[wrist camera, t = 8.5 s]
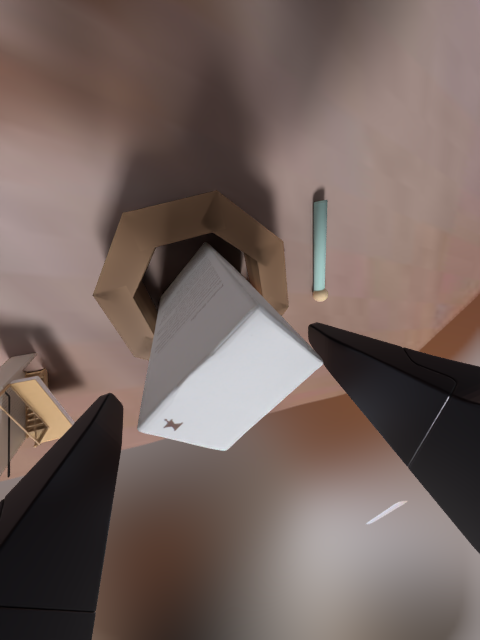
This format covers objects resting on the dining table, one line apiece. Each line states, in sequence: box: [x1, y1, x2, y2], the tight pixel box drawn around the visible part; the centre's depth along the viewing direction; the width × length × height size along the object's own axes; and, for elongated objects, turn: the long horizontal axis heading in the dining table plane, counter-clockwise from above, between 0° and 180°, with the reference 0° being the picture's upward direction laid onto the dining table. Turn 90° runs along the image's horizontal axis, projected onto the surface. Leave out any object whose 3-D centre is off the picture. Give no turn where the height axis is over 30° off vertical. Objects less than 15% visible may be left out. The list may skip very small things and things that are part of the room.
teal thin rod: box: [313, 200, 328, 302], centre depth 18 cm, size 9×1×1 cm, turn 13°
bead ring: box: [93, 190, 289, 361], centre depth 15 cm, size 12×12×4 cm
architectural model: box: [0, 353, 75, 477], centre depth 15 cm, size 3×7×7 cm, turn 3°
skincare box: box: [138, 242, 324, 451], centre depth 12 cm, size 6×4×12 cm
